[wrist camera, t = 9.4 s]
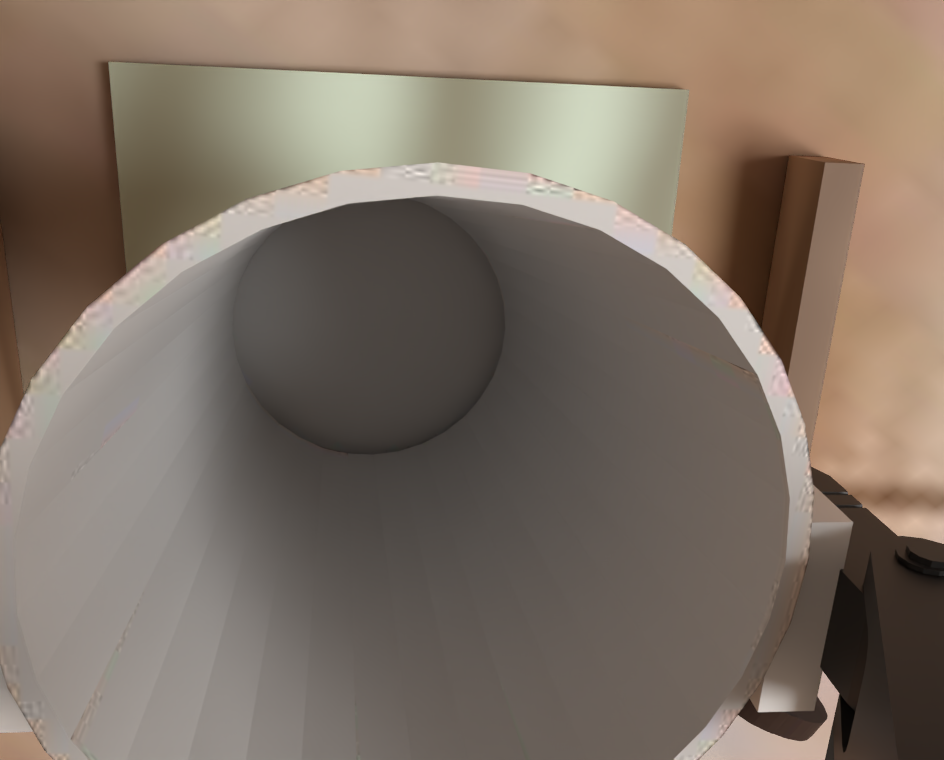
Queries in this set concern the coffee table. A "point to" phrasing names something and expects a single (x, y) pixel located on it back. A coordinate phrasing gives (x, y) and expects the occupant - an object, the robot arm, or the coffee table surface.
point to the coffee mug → (405, 488)
